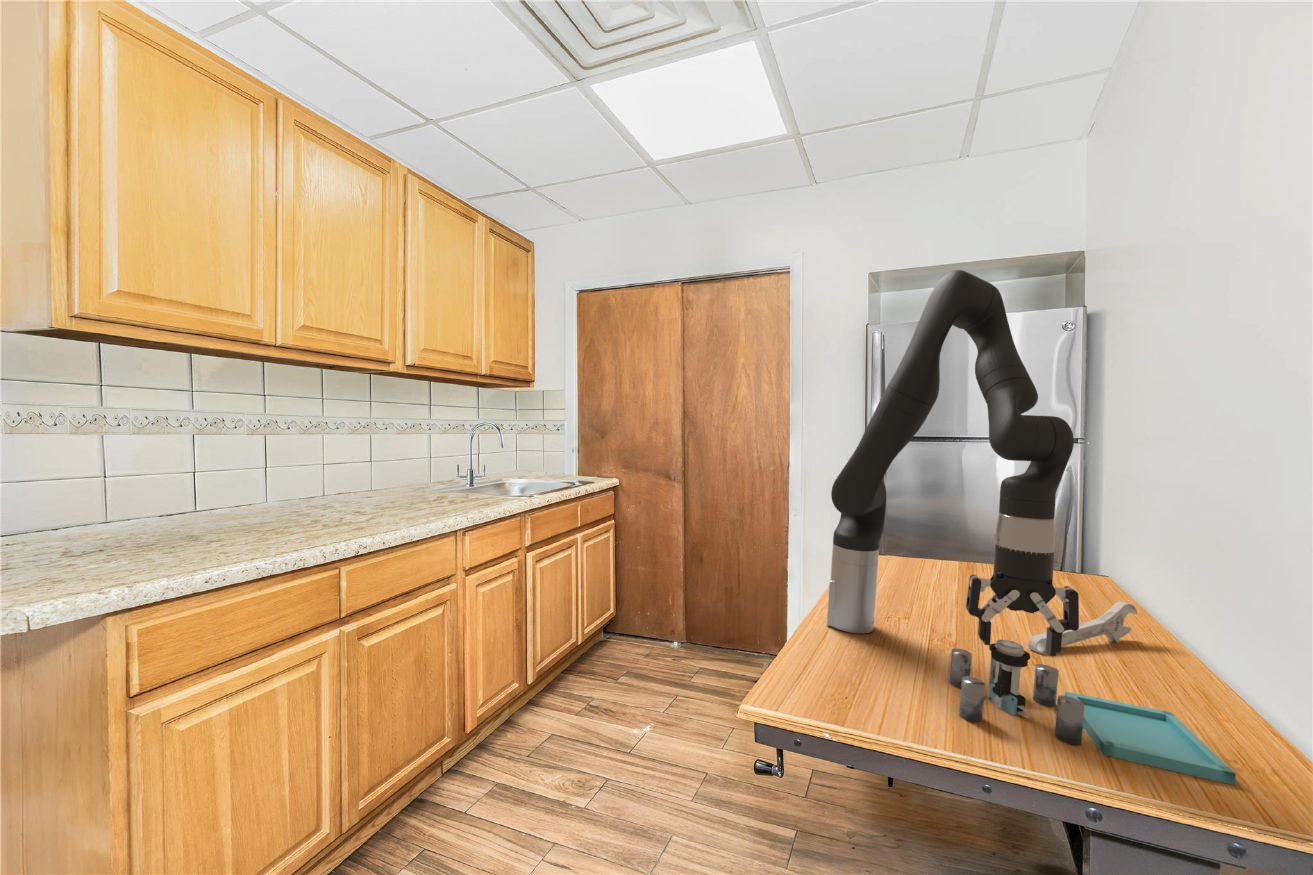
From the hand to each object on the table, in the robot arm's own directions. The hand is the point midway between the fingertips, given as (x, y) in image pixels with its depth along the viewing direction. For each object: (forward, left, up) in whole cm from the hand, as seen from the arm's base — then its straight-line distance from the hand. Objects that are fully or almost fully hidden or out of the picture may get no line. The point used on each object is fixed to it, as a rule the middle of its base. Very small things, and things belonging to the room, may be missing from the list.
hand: (1017, 648), depth 82 cm
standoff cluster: (-1, 0, -10) cm, 10 cm away
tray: (+15, 0, -10) cm, 18 cm away
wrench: (+20, +38, -10) cm, 44 cm away
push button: (-1, 0, -10) cm, 10 cm away
